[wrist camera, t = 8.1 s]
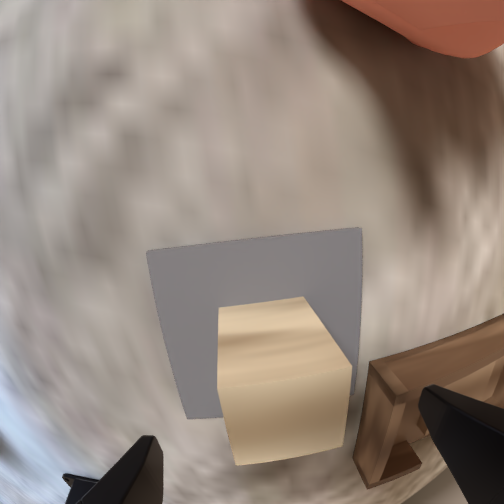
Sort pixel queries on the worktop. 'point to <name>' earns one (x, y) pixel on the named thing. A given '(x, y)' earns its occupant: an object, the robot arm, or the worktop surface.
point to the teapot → (442, 23)
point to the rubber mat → (251, 297)
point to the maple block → (280, 381)
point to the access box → (409, 391)
